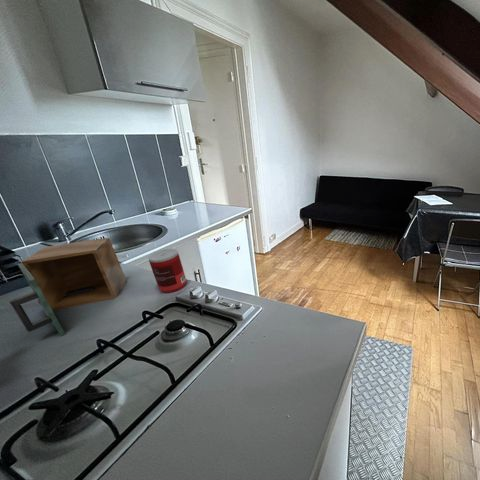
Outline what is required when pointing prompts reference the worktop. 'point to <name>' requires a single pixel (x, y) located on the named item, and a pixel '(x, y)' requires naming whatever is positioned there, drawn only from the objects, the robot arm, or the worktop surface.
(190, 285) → the worktop surface
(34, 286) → the cupboard door
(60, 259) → the cupboard
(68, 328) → the worktop surface
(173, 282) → the canned food
